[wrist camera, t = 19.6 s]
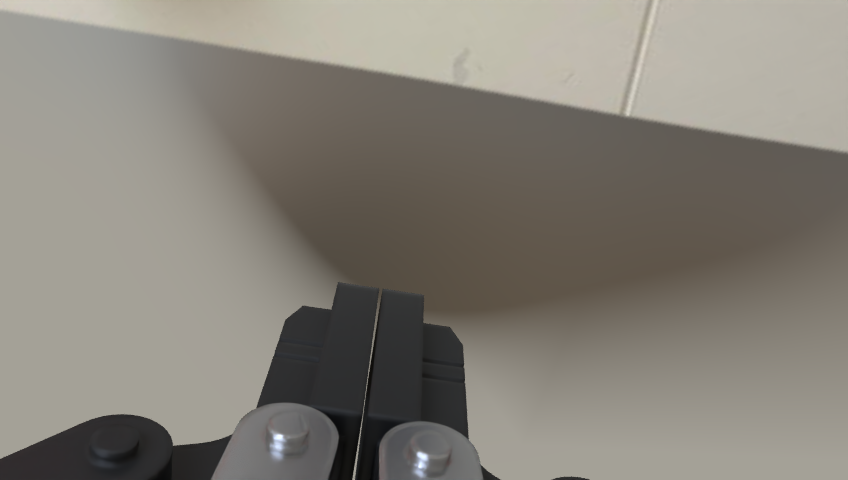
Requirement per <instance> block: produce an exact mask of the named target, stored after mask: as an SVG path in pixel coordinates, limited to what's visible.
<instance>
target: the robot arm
mask: <svg viewBox="0 0 848 480" xmlns="http://www.w3.org/2000/svg"><path fill="white" fill-rule="evenodd" d="M378 293H379V288H373V287H367V286H359V285H353V284H346V283H340V282H338V285H337V289H336V293H335V297H334V302H333V306H332V310H329V309H322V308H315V307H308V306H302V307H301V308H300V309H299V310H298V311H296V312H295V313H293V314H292V315H291V316H290V317H288V318H287V319H286V320H285V323H284V326H283V329H282V332H281V335H280V339H279V342H278V344H277V347H276V350H275V354H274V356H273V359H272V362H271V366H270V369H269V371H268V374H267V378H266V380H265V384H264V386H263V389H262V392H261V395H260V398H259V402H258V405H257V408H256V409H254V410H252V411H250V412H249V413H247V414H246V415H245V416H244V417H243V418H242V419H241V420H240V421H239V423H238V425H237V426H236V428H235V431H234V433H233V434H232V435H230V436H228V437H225V438H222V439H219V440H215V441H211V442H206V443H199V444H189V445H177V446H173V443H172V439H171V436H170V435H169V433H168V432H167V430H166V429H165V428H164V427H163V426H161V425H160V424H158V423H157V422H154V421H153V420H150V419H148V418H144V417H141V416H135V415H124V414H121V415H108V416H102V417H98V418H95V419H92V420H89V421H86V422H84V423H81V424H79V425H77V426H74V427H72V428H70V429H68V430H66V431H63V432H61V433H59V434H56V435H54V436H52V437H49V438H47V439H45V440H43V441H40V442H38V443H36V444H33V445H31V446H29V447H27V448H24V449H22V450H20V451H17V452H15V453H13V454H11V455H8V456H6V457H4V458H2V459H0V480H352V478H353V471H354V465H355V459H356V452H357V446H358V440H359V434H360V427H361V421H362V415H363V422H362V430H361V437H360V445H359V452H358V461H357V468H356V476H355V480H500V479H498V478H497V477H495V476H494V475H492V474H491V473H489V472H488V471H487V470H486V469H485V468H483V466H481V464H480V459H479V456H478V453H477V451H476V449H475V447H474V446H473V444H472V443H471V442H470V441H469V438H468V422H467V406H466V389H465V383H464V382H465V373H464V357H463V345H462V343H461V342H460V341H459V339H458V338H457V336H456V335H455V334H454V332H453V331H452V329H451V328H450V327H446V326H439V325H432V324H426V323H423V310H424V295H422V294H415V293H408V292H401V291H395V290H388V289H383V291H382V296H381V302H380V309H379V315H378V321H377V328H376V334H375V340H374V347H373V352H372V359H371V365H370V372H369V378H368V385H367V391H366V384H367V377H368V369H369V361H370V354H371V347H372V339H373V331H374V323H375V316H376V309H377V300H378ZM365 391H366V399H365ZM364 400H365V406H364ZM363 407H364V414H363ZM553 480H589V479H585V478H580V477H560V478H555V479H553Z"/></svg>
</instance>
